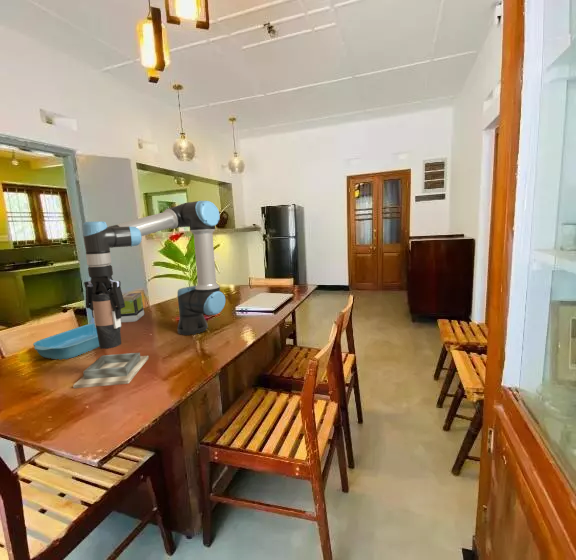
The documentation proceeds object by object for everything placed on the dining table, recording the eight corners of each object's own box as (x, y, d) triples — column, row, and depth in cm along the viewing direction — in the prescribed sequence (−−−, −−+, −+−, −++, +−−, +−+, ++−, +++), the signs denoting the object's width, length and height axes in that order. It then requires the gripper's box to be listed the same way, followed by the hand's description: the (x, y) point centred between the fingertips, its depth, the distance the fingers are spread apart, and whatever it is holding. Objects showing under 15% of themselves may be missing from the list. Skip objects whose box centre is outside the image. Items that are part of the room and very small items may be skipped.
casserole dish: (59, 367, 130) (56, 350, 128) (23, 361, 137) (20, 345, 136) (132, 336, 164) (130, 323, 162) (99, 333, 171) (97, 320, 170)
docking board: (148, 358, 134) (147, 348, 133) (128, 383, 112) (127, 372, 112) (102, 362, 132) (101, 352, 131) (73, 388, 110) (71, 376, 110)
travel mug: (126, 342, 123) (120, 290, 119) (109, 349, 115) (102, 295, 112) (111, 340, 125) (104, 290, 122) (93, 348, 118) (86, 294, 115)
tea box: (128, 315, 203) (125, 292, 201) (144, 314, 204) (142, 291, 202) (118, 322, 189) (115, 298, 186) (136, 321, 190) (133, 297, 187)
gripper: (131, 263, 116) (138, 324, 120) (85, 264, 121) (93, 323, 125) (116, 266, 109) (124, 331, 113) (67, 267, 114) (76, 329, 118)
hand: (108, 326), depth 119 cm, fingers closed on travel mug, 8 cm apart
